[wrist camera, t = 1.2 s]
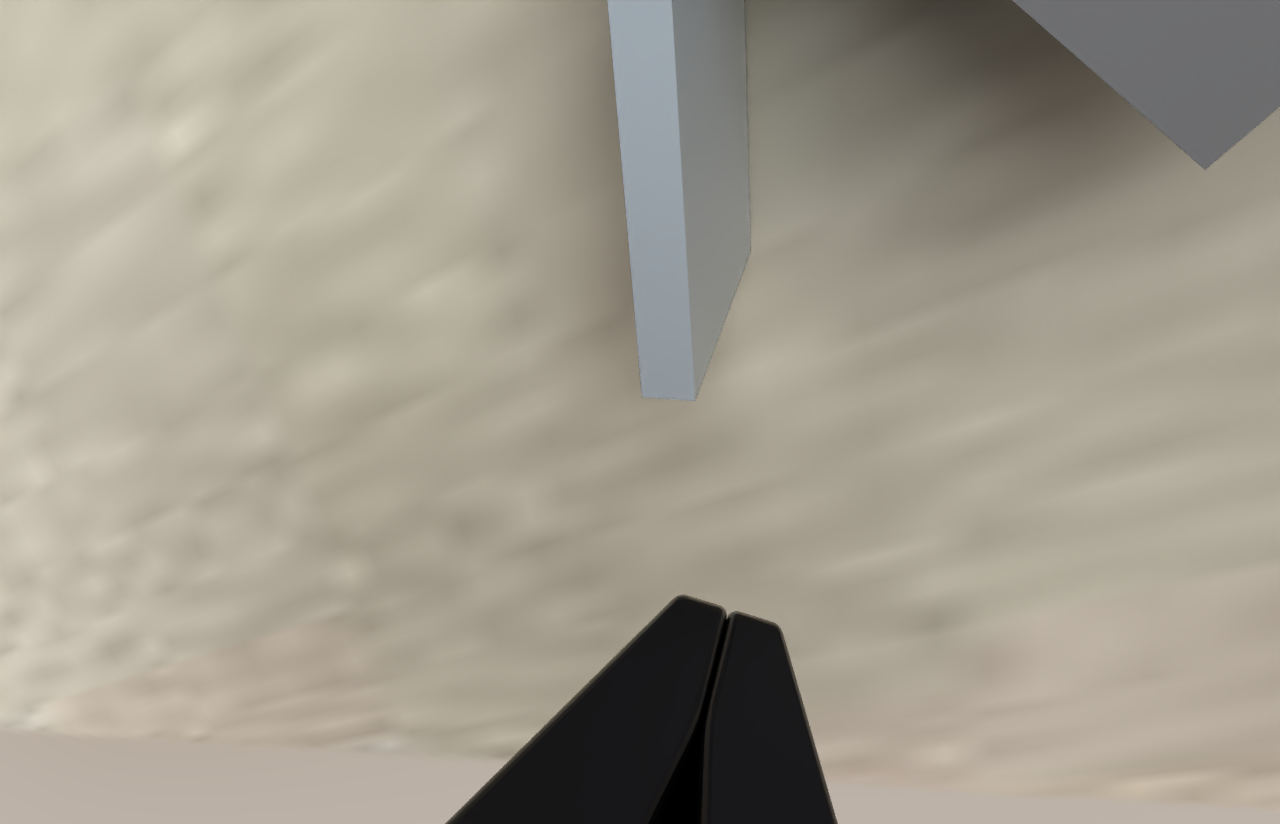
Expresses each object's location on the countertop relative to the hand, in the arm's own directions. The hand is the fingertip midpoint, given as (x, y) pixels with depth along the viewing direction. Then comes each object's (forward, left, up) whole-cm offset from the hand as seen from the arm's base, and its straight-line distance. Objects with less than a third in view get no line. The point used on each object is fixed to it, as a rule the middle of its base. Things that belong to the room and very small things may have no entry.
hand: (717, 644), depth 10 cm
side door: (0, -3, -13) cm, 13 cm away
